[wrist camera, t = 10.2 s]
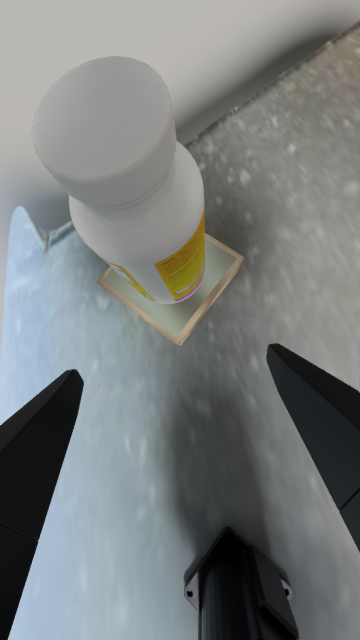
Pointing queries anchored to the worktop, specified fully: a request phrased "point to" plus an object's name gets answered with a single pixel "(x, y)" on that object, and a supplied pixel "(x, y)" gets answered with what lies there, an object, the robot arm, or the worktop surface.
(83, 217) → the supplement bottle
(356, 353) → the worktop surface
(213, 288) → the oak frame
